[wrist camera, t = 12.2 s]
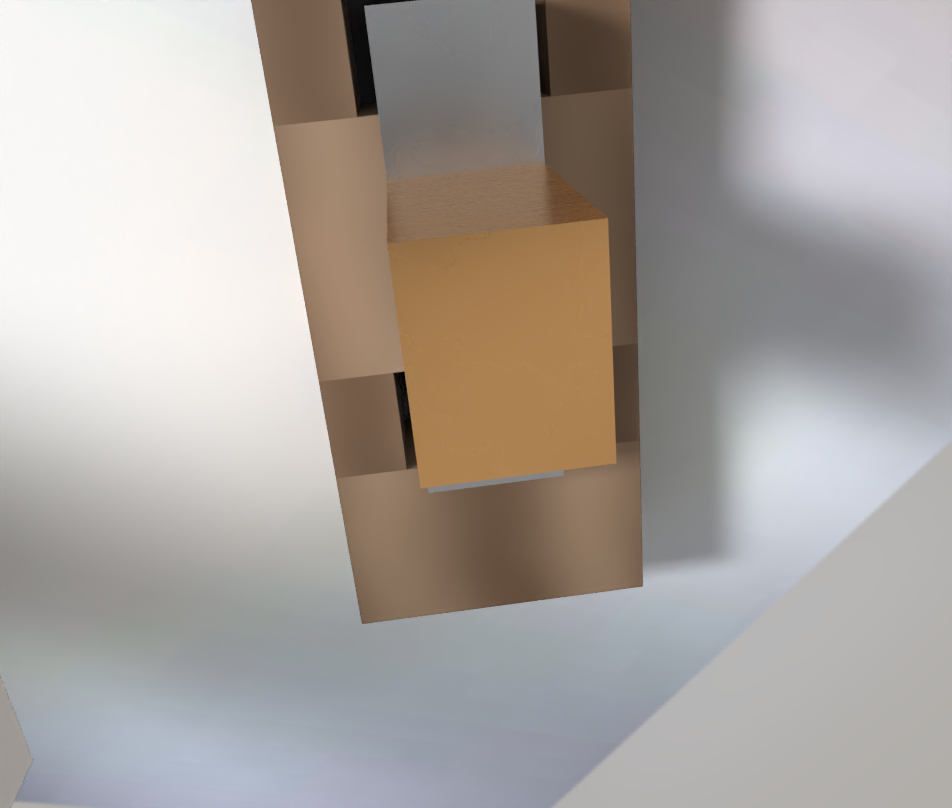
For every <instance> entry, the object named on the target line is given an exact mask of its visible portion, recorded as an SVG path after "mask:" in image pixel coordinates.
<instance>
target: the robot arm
mask: <svg viewBox="0 0 952 808" xmlns="http://www.w3.org/2000/svg"><path fill="white" fill-rule="evenodd" d="M32 761H33V758H32V755H31V753H30V750H29V748H28V745H27V743H26V740H25V737H24V735H23V732H22V730H21V727H20V725H19V722H18V720H17V717H16V714H15V712H14V709H13V707H12V704H11V702H10V699H9V697H8V694H7V691H6V689H5V686H4V684H3V681H2V679H1V676H0V808H11V807H12V804H13V802H14V800H15V798H16V796H17V794H18V792H19V789H20V787H21V785H22V783H23V781H24V779H25V777H26V774H27V772H28V770H29V768H30V766H31V764H32Z"/></svg>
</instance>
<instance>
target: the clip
mask: <svg viewBox="0 0 952 808" xmlns="http://www.w3.org/2000/svg"><path fill="white" fill-rule="evenodd" d="M364 9H365V17H366V24H367V32H368V39H369V47H370V54H371V62H372V70H373V77H374V85H375V92H376V100H377V107H378V115H379V123H380V130H381V138H382V145H383V153H384V160H385V168H386V175H387V246H388V254H389V261H390V268H391V276H392V283H393V291H394V298H395V305H396V313H397V320H398V327H399V335H400V342H401V349H402V357H403V364H404V371H405V379H406V386H407V393H408V401H409V408H410V415H411V423H412V430H413V437H414V445H415V452H416V459H417V467H418V474H419V482H420V489H421V488H428V493H433V492H441V491H449V490H456V489H464V488H472V487H480V486H488V485H495V484H503V483H511V482H519V481H527V480H534V479H542V478H550V477H558V476H564V470H570V469H577V468H585V467H593V466H601V465H609V464H616V436H615V406H614V377H613V348H612V318H611V289H610V260H609V231H608V218H607V217H606V216H605V215H604V214H603V213H602V212H600V211H599V210H598V209H597V208H596V207H595V206H594V205H592V204H591V203H590V202H589V201H588V200H587V199H586V198H585V197H583V196H582V195H581V194H580V193H579V192H578V191H577V190H575V189H574V188H573V187H572V186H571V185H570V184H569V183H567V182H566V181H565V180H564V179H563V178H562V177H561V176H559V175H558V174H557V173H556V172H555V171H554V170H553V169H552V168H550V167H549V166H548V165H547V164H546V163H545V157H544V141H543V125H542V109H541V92H540V76H539V60H538V43H537V27H536V11H535V0H417V1H407V2H397V3H387V4H377V5H367V6H364Z"/></svg>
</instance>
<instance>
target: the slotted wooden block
mask: <svg viewBox="0 0 952 808" xmlns="http://www.w3.org/2000/svg"><path fill="white" fill-rule="evenodd" d="M251 3H252V9H253V14H254V20H255V25H256V31H257V37H258V42H259V48H260V54H261V59H262V65H263V70H264V76H265V82H266V87H267V93H268V98H269V104H270V110H271V115H272V121H273V127H274V132H275V138H276V143H277V149H278V155H279V160H280V166H281V171H282V177H283V183H284V188H285V194H286V200H287V205H288V211H289V216H290V222H291V228H292V233H293V239H294V244H295V250H296V256H297V261H298V267H299V273H300V278H301V284H302V289H303V295H304V301H305V306H306V312H307V317H308V323H309V329H310V334H311V340H312V346H313V351H314V357H315V362H316V368H317V374H318V379H319V385H320V390H321V396H322V402H323V407H324V413H325V419H326V424H327V430H328V435H329V441H330V447H331V452H332V458H333V463H334V469H335V475H336V480H337V486H338V492H339V497H340V503H341V508H342V514H343V520H344V525H345V531H346V536H347V542H348V548H349V553H350V559H351V565H352V570H353V576H354V581H355V587H356V593H357V598H358V604H359V609H360V615H361V621H362V624H366V623H373V622H381V621H388V620H396V619H403V618H410V617H418V616H425V615H433V614H440V613H448V612H455V611H463V610H470V609H478V608H485V607H493V606H500V605H507V604H515V603H522V602H530V601H537V600H545V599H552V598H560V597H567V596H575V595H582V594H590V593H597V592H604V591H612V590H619V589H627V588H634V587H642V586H643V575H642V528H641V481H640V434H639V387H638V340H637V293H636V246H635V199H634V152H633V105H632V58H631V11H630V0H535V11H536V27H537V43H538V60H539V76H540V92H541V109H542V125H543V141H544V157H545V163H546V164H547V165H548V166H549V167H550V168H552V169H553V170H554V171H555V172H556V173H557V174H558V175H559V176H561V177H562V178H563V179H564V180H565V181H566V182H567V183H569V184H570V185H571V186H572V187H573V188H574V189H575V190H577V191H578V192H579V193H580V194H581V195H582V196H583V197H585V198H586V199H587V200H588V201H589V202H590V203H591V204H592V205H594V206H595V207H596V208H597V209H598V210H599V211H600V212H602V213H603V214H604V215H605V216H606V217H607V218H608V231H609V260H610V289H611V318H612V348H613V377H614V406H615V436H616V464H609V465H601V466H593V467H585V468H577V469H570V470H564V476H558V477H550V478H542V479H534V480H527V481H519V482H511V483H503V484H495V485H488V486H480V487H472V488H464V489H456V490H449V491H441V492H433V493H428V488H421V489H420V482H419V474H418V467H417V459H416V452H415V445H414V437H413V430H412V423H411V419H405V418H404V411H403V404H402V397H401V389H400V382H399V375H398V372H404V364H403V357H402V349H401V342H400V335H399V327H398V320H397V313H396V305H395V298H394V291H393V283H392V276H391V268H390V261H389V254H388V246H387V175H386V168H385V160H384V153H383V145H382V138H381V130H380V123H379V115H378V107H377V103H376V104H367V105H361V101H360V94H359V86H358V79H357V72H356V65H355V58H354V50H353V43H352V36H351V29H350V21H349V14H348V7H347V0H251Z"/></svg>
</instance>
